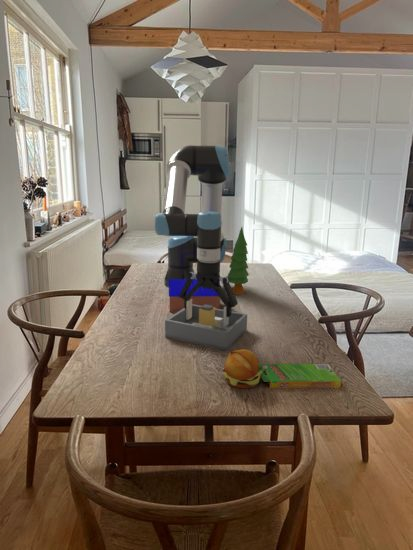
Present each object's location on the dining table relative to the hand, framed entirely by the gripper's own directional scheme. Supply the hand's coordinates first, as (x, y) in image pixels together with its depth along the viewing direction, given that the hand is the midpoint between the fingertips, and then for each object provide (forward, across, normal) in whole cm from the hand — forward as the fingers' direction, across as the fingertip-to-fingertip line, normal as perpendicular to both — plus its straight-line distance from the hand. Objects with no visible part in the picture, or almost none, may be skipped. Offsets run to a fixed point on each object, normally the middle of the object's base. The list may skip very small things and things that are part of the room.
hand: (207, 321), depth 140 cm
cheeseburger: (+5, +22, -24) cm, 33 cm away
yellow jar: (+3, 0, 0) cm, 3 cm away
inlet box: (+4, 0, 0) cm, 4 cm away
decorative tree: (+4, -8, +48) cm, 49 cm away
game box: (+5, +35, -16) cm, 38 cm away
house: (+5, -16, +22) cm, 27 cm away
